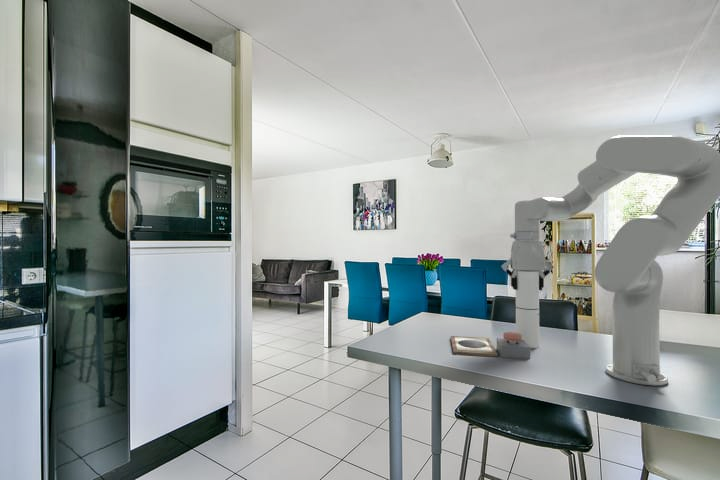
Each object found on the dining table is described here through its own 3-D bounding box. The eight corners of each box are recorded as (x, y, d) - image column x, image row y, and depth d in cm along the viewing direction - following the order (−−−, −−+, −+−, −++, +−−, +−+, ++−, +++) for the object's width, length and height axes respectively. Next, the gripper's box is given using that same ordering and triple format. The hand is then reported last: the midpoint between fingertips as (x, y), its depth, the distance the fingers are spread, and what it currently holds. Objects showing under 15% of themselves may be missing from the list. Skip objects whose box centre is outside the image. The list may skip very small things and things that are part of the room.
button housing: (529, 358, 103) (529, 347, 103) (501, 357, 105) (501, 345, 105) (523, 350, 111) (523, 339, 111) (496, 348, 113) (496, 338, 113)
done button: (523, 349, 105) (523, 337, 105) (505, 347, 106) (505, 336, 106) (519, 344, 110) (519, 332, 110) (502, 343, 111) (502, 331, 111)
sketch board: (497, 356, 105) (497, 353, 105) (453, 353, 108) (453, 350, 108) (488, 340, 123) (488, 337, 123) (450, 338, 125) (450, 335, 125)
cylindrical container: (511, 343, 119) (510, 270, 119) (527, 340, 122) (526, 269, 122) (527, 349, 113) (527, 272, 113) (544, 346, 115) (543, 271, 115)
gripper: (501, 237, 115) (502, 290, 115) (559, 236, 112) (559, 291, 112) (497, 237, 123) (497, 287, 123) (551, 237, 119) (551, 288, 119)
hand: (527, 289), depth 117 cm, fingers closed on cylindrical container, 7 cm apart
